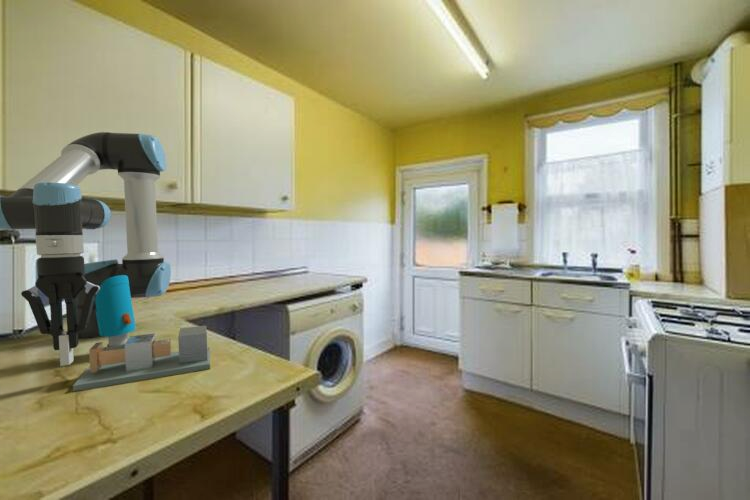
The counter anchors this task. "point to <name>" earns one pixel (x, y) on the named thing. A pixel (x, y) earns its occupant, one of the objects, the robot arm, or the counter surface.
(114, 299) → the security camera
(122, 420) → the counter surface
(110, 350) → the bolt
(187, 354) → the socket
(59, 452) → the counter surface
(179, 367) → the board
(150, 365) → the sleeve
